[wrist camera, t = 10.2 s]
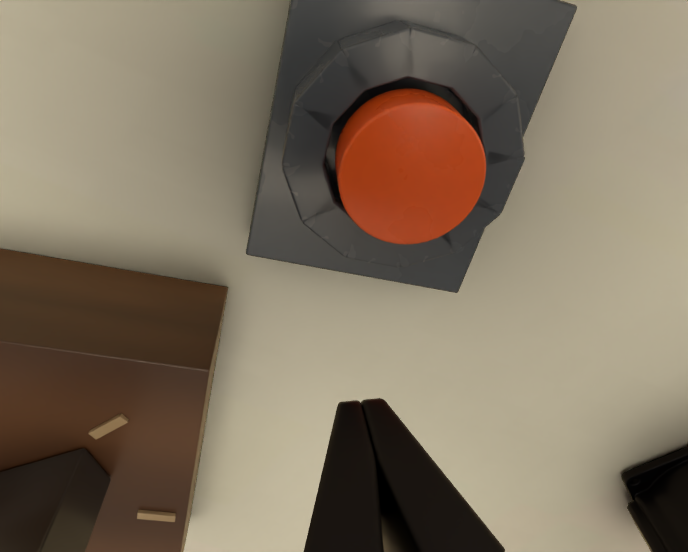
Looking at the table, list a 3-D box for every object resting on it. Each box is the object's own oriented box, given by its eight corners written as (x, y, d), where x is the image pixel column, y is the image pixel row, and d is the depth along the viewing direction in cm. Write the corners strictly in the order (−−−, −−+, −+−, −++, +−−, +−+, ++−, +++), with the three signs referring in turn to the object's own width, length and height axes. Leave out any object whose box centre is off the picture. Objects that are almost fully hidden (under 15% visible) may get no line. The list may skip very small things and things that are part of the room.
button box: (303, -74, 15) (304, -80, 12) (555, 1, 17) (609, 12, 14) (249, 233, 20) (240, 282, 17) (447, 271, 22) (470, 322, 19)
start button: (354, 72, 15) (360, 85, 13) (490, 106, 15) (510, 123, 14) (321, 205, 16) (323, 231, 15) (443, 230, 17) (456, 256, 16)
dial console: (-194, 215, 19) (-346, 296, 14) (228, 286, 21) (209, 373, 17) (-118, 492, 26) (-204, 601, 22) (189, 519, 29) (169, 623, 24)
